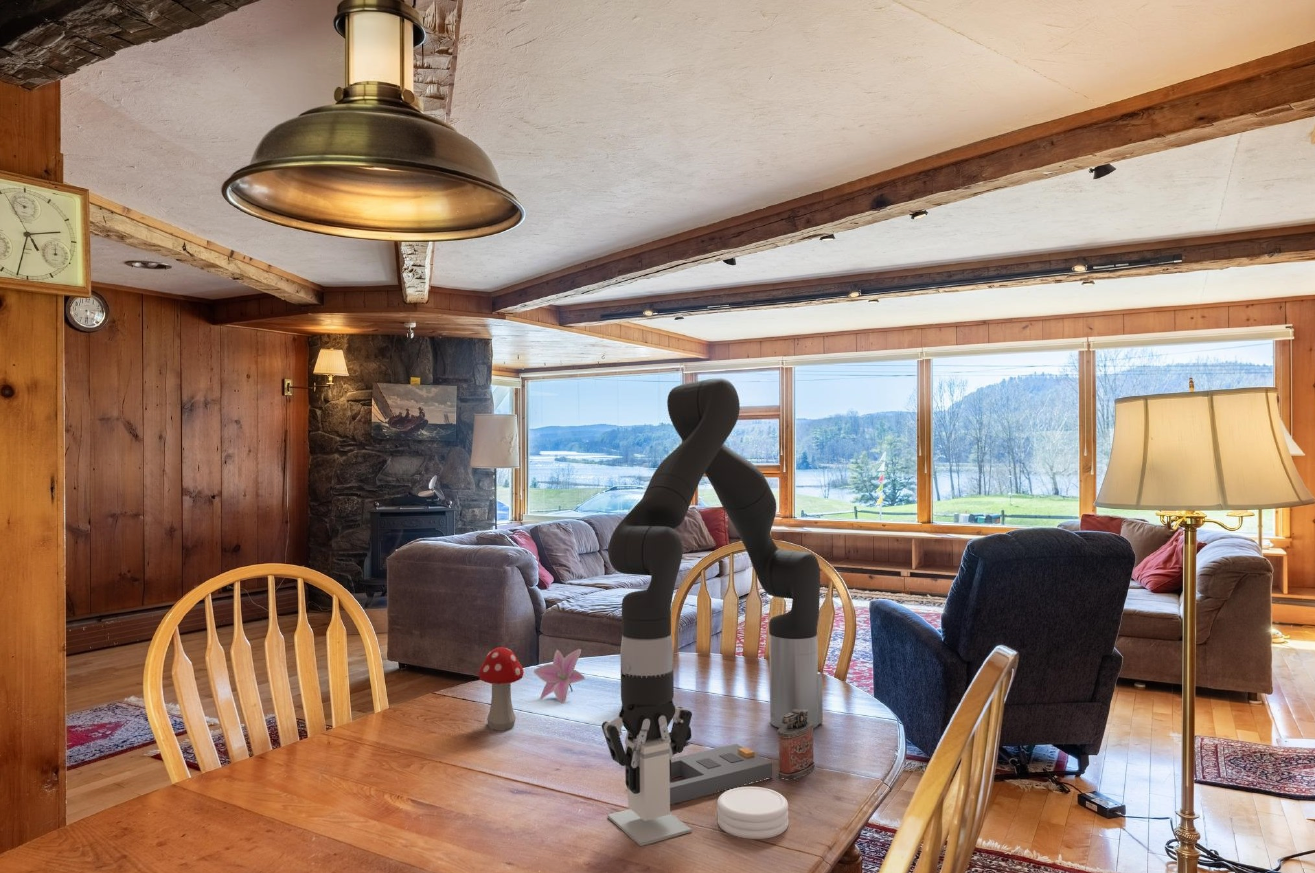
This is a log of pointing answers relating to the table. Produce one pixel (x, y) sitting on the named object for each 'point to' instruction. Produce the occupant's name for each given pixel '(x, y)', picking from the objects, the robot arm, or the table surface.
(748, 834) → the white short cylinder
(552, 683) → the lily
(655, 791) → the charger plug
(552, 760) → the table surface
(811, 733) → the lighter
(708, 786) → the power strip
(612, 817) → the rubber mat
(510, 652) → the decorative mushroom
